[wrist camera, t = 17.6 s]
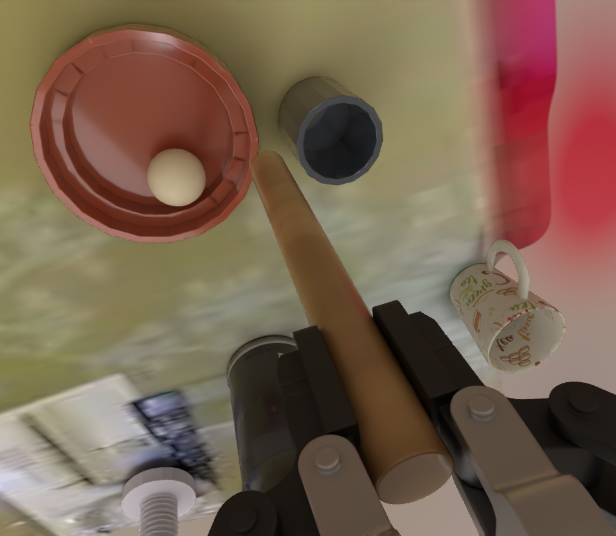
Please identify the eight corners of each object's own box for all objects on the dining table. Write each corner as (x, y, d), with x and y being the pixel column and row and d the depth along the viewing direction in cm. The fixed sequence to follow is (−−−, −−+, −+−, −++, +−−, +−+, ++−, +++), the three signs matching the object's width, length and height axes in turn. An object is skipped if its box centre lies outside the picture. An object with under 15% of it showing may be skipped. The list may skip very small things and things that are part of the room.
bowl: (268, 194, 42) (276, 214, 39) (97, 239, 40) (90, 265, 37) (221, 2, 33) (227, 5, 30) (2, 50, 32) (-18, 60, 28)
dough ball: (219, 161, 35) (185, 205, 34) (214, 183, 40) (184, 224, 38) (168, 127, 35) (132, 171, 34) (169, 153, 39) (136, 193, 38)
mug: (438, 322, 56) (484, 383, 47) (441, 230, 49) (496, 283, 40) (502, 305, 57) (558, 361, 49) (515, 212, 50) (582, 260, 42)
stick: (290, 172, 25) (463, 479, 10) (260, 189, 25) (390, 516, 10) (274, 143, 24) (444, 439, 9) (243, 160, 24) (362, 480, 9)
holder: (356, 144, 42) (386, 172, 36) (286, 162, 41) (305, 194, 35) (347, 68, 38) (378, 86, 32) (270, 87, 37) (288, 108, 32)
